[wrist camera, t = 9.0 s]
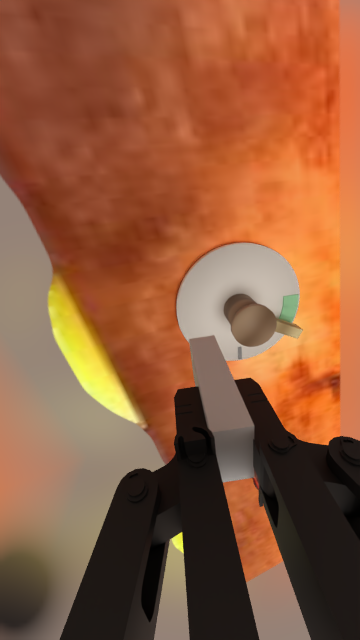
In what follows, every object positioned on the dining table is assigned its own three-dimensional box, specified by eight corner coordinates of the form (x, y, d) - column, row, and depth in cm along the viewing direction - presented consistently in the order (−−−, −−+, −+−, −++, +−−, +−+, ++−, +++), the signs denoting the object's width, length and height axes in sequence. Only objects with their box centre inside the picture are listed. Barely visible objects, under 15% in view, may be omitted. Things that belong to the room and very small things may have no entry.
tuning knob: (214, 319, 38) (225, 340, 32) (229, 285, 36) (244, 300, 30) (280, 339, 41) (302, 362, 35) (298, 309, 39) (325, 327, 32)
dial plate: (167, 252, 35) (168, 253, 34) (299, 233, 36) (305, 234, 34) (183, 363, 43) (184, 368, 42) (290, 347, 44) (295, 352, 42)
